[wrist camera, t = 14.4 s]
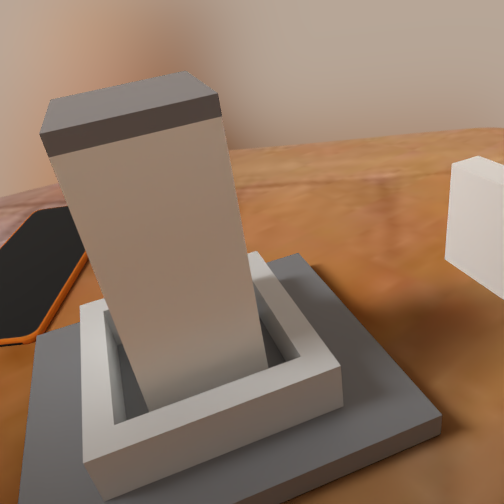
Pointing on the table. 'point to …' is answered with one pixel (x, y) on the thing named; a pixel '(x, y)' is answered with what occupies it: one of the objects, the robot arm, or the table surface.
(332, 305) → the dock
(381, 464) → the table surface
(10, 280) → the smartphone
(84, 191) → the block
